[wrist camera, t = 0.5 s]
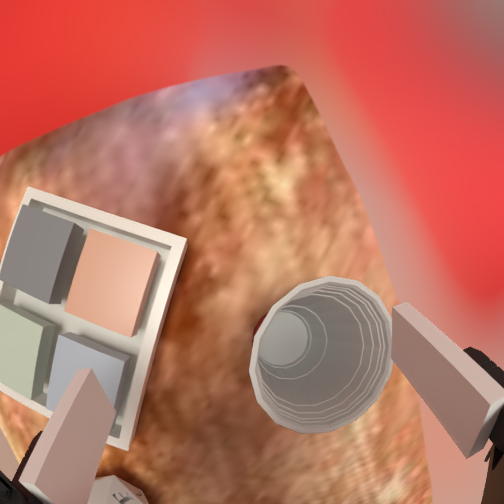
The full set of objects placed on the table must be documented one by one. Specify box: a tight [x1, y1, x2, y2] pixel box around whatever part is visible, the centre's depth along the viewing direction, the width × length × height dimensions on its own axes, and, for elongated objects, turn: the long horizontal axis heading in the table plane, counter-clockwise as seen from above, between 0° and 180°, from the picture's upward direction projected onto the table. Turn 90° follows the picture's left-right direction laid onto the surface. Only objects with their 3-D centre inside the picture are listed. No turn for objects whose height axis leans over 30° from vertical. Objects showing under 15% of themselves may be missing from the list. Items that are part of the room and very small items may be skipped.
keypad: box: [0, 186, 188, 451], centre depth 25 cm, size 20×17×4 cm
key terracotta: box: [64, 228, 161, 338], centre depth 24 cm, size 7×6×3 cm
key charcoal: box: [0, 204, 84, 304], centre depth 23 cm, size 7×6×3 cm
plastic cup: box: [249, 276, 394, 434], centre depth 24 cm, size 11×11×12 cm
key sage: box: [0, 301, 55, 400], centre depth 21 cm, size 7×6×3 cm
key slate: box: [46, 332, 131, 434], centre depth 22 cm, size 7×6×3 cm
